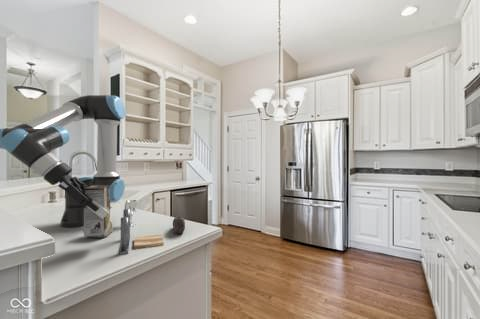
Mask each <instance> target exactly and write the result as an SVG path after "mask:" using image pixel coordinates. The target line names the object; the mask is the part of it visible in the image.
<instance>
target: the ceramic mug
mask: <svg viewBox="0 0 480 319" xmlns="http://www.w3.org/2000/svg"><path fill="white" fill-rule="evenodd" d="M82 231H83V233H84V228H83V229H82ZM113 231H114V228H113V223H112V221H111V220H110V227H109V229H108V230H107V232H106V233H105V234H104V235H92V236H85V237H86V238H100V239H101V238H106V237H108V236H109V235H110V234H111V233H113Z"/></svg>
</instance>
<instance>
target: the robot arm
mask: <svg viewBox="0 0 480 319" xmlns="http://www.w3.org/2000/svg"><path fill="white" fill-rule="evenodd" d="M124 104H125V103H124V102H123V100H122V99H121V98H120V97H119V96H117V95H114V94H113V95H110V94H106V95H105V94H104V95H100V94H99V95H97V94H94V95H91V94H87V95H83V96H80V97H76V98H74V99H70V100H68V101H66V102H64V103H63V104H62V106H61V107H58V108H56V109H53V110H51V111H49V112H47V113H44V114H43V115H39V116H38V117H35V118H33V119H30V120H28V121H26V122H24V123H21V124H18V125H16V126H14V127H10V128H9V127H4V128H0V149H3V150H6V152H7V153H9V154H10V155H12V156H13V157H15V158H16V159H17V160H18V161H20V162H21V163H23V164H24V165H25V166H27V167H28V168H29V169H30V170H32V173H33V174H37V175H38V176H40V177H43V180H44V181H46V182H47V183H48V184H50V185H51V186H55V185H56V184H58V183H59V184H58V186H57V187H59V188H60V189H62V190H63V191H64V193H65V194H64V196H65V197H64V199H65V200H64V201H65V202H64V204H65V207H64V211H63V214H62V216H61V219H60V227H62V228H74V227H75V228H78V227H84V208H85V207H86V206H87V207H88V208H89V209H90V210H92V211H93V212H94V213H95V214H97V215H98V216H99V217H101V218H102V219H103V218H104V217H105V216H106V215H107V214H108V213H109V212H108V211H107V210H106V209H104V208H103V207H102V206H101V205H99V204H98V203H97V202H95V201H94V200H93V201H92V199H90V198H89V197H88V196H87V195H86V194H85V193H84V188H87V187H89V186H91V185H110V203H117V202H118V201H120V200H121V198H122V197H123V195H124V193H125V186H126V184H125V182H124V180H123V179H121V175H120V174H119V173H118V172H117V171H118V170H117V166H118V165H117V163H118V162H117V160H118V159H117V156H118V151H117V150H118V148H117V147H118V126H119V125H120V124H121V120H122V119H124V118H125V116H126V107H125V105H124ZM86 119H87V120H88V119H89V120H90V119H92V120H93V121H94V122H95V124H96V125H97V136H96V138H97V139H96V140H97V141H96V142H97V144H96V149H97V151H96V154H97V155H96V173H95V174H94V175H93V176H91V175H90V176H82V177H76V176H73V177H72V176H71V175H70V173H71V172H72V171H73V168H72V167H71V166H69V165H68V164H67V163H66V162H63V159H61V158H60V157H59V156H57V155H56V154H55V153H54V152H52V151H53V150H56V149H58V148H61V147H63V146H64V145H66V144H67V143H68V142H69V141H70V139H71V138H70V134H69V131H68V130H67V129H66V128H65V126H67V125H69V124H71V123H74V122H80V121H82V120H86ZM112 208H113V206H112V205H111V204H110V210H111V209H112Z"/></svg>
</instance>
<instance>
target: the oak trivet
mask: <svg viewBox="0 0 480 319" xmlns="http://www.w3.org/2000/svg"><path fill="white" fill-rule="evenodd" d="M163 239H164V238H163V236H162V234H154V235H148V236H147V235H146V236H139V237H134V243H133V245H134V246H133V249H134V250H137V249H145V248H152V247H157V246H164V245H165V244H164V240H163Z"/></svg>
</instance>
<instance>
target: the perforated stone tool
mask: <svg viewBox="0 0 480 319" xmlns="http://www.w3.org/2000/svg"><path fill="white" fill-rule="evenodd" d="M185 228H186V222H185V218H184V217H183V216H182V215H176V216H175V217H174V218H173V219H172V230H173V232H174V233H175V234H177V235H178V234H179V235H180V234H183V233H184V232H185Z"/></svg>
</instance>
